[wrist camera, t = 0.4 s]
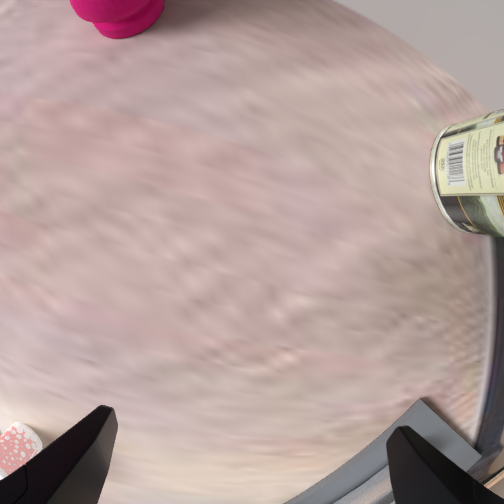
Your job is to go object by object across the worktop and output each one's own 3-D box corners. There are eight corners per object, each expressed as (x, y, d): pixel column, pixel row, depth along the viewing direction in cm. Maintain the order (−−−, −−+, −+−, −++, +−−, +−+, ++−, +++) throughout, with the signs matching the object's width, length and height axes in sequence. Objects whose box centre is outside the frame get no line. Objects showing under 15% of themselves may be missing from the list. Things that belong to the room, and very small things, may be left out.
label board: (359, 542, 30) (361, 547, 28) (257, 517, 27) (258, 524, 25) (478, 452, 28) (482, 457, 27) (419, 398, 25) (425, 404, 24)
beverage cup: (2, 410, 23) (-57, 473, 9) (38, 425, 24) (-20, 501, 10) (18, 446, 24) (-30, 509, 10) (53, 460, 24) (9, 534, 11)
